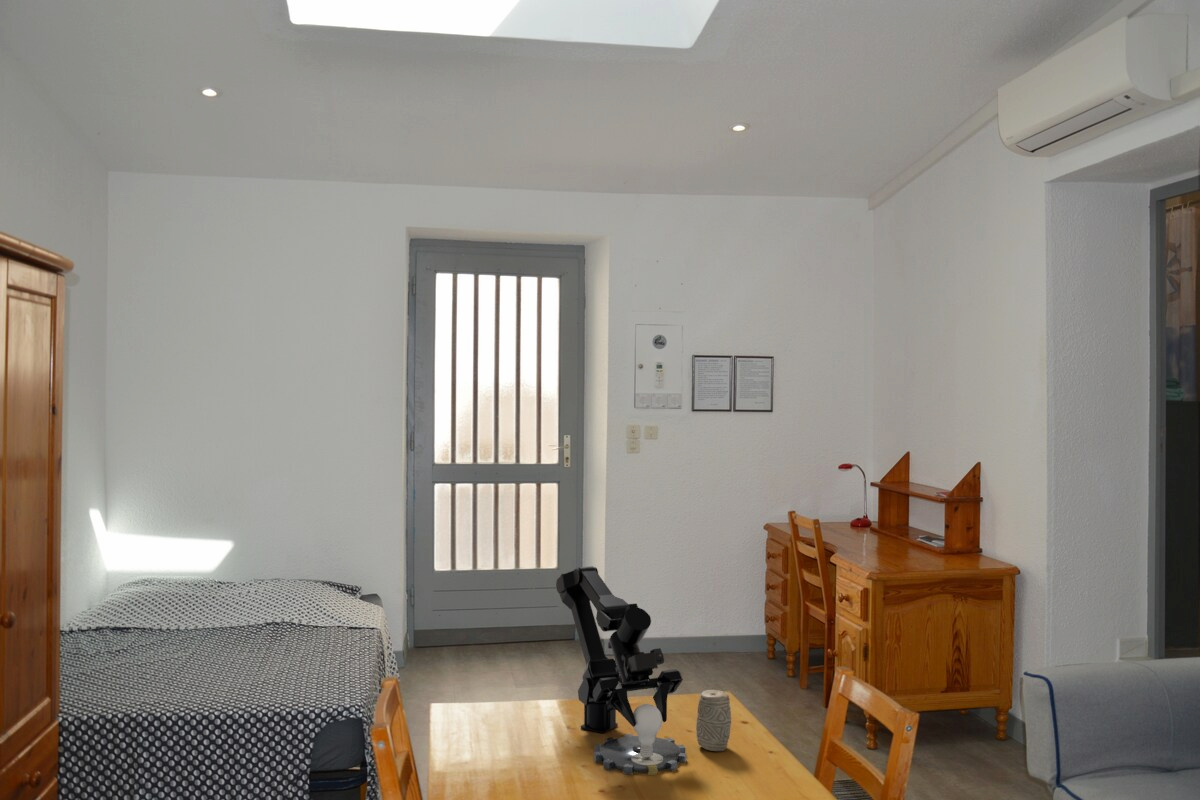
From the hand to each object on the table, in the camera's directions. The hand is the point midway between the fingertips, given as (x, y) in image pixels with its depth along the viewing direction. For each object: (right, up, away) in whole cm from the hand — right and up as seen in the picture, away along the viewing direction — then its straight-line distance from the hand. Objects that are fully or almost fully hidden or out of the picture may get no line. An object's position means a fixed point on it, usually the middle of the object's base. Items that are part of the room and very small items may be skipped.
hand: (649, 723), depth 199 cm
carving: (+14, -10, +12) cm, 21 cm away
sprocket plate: (-2, -9, +7) cm, 12 cm away
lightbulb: (-1, -8, +1) cm, 8 cm away
